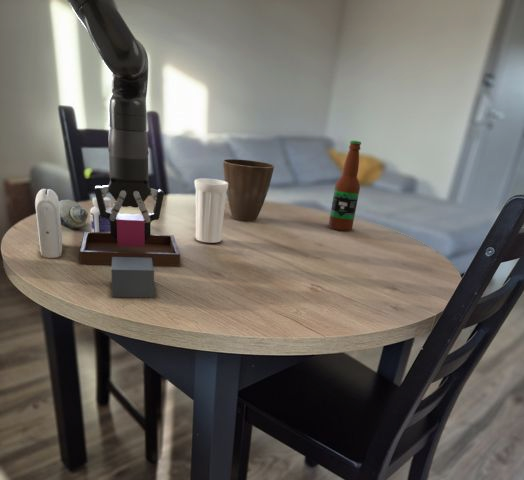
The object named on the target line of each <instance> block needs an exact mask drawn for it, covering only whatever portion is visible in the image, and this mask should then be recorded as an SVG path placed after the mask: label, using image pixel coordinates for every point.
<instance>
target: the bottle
mask: <svg viewBox="0 0 524 480" xmlns="http://www.w3.org/2000/svg"><path fill="white" fill-rule="evenodd" d="M361 145H362V141H360V140H350V141H349V146H348V151H347V155H346V158H345V161H344V164H343V168H342V174H341V176H339V178H338V180H337V181H336V183H335V186H334V191H333V197H332V202H331V209H330V214H329V220H328V226H329V228H330V229H332V230H334V231H339V232H350V231H351V230H352V229H353V225H354V220H355V215H356V210H357V205H358V200H359V195H360V190H361V185H360V182H359V180H358V173H359V166H360V164H359V163H360V150H361Z"/></svg>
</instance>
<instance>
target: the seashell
mask: <svg viewBox="0 0 524 480" xmlns="http://www.w3.org/2000/svg"><path fill="white" fill-rule="evenodd" d="M59 210H60V220H61V226H63V227H65V229H70V230H78V229H80V228H82V227H83V226H84V225H85V224H86V222H87V219H88V217H89V213H88V212H87V210H86V209H84V208H83V207H82V206H80V205H79V204H78V202H76V201H75V200H73V199H68V198H67V199H61V200H59Z"/></svg>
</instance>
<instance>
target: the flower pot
mask: <svg viewBox="0 0 524 480" xmlns="http://www.w3.org/2000/svg"><path fill="white" fill-rule="evenodd" d="M222 163H223V164H222V165H223V168H222V169H223V179H224V180H223V181H226V182H228V189H227V192H226V199H227V202H228V203H227V204H228V206H229V211H230V214H231V217H232V219H234V220H237V221H241V222H255V221H256V220H257V219H258V217H259V215H260V213H261V210H262V208H263V206H264V203H265V201H266V198H267V194H268V192H269V189H270V185H271V182H272V178H273V173H274V170H275V164H272V163H269V162H262V161H256V160H249V159H239V158H238V159H234V158H228V159H226V158H225V159H223V160H222Z"/></svg>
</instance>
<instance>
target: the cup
mask: <svg viewBox="0 0 524 480" xmlns="http://www.w3.org/2000/svg"><path fill="white" fill-rule="evenodd" d="M194 188H195V239H196V240H197V241H199V242H203V243H208V244H210V243H213V244H214V243H219V242H221V241H222V233H223V225H224V217H225V216H224V215H225V207H226V199H227V193H226V192H227V189H228V182H226V181H225V180H222V179H217V178H207V177H206V178H205V177H203V178H202V177H201V178H195V179H194Z"/></svg>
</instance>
